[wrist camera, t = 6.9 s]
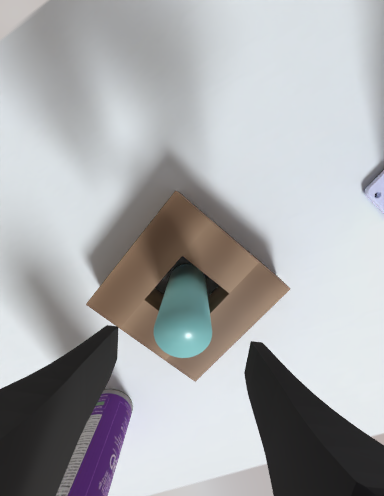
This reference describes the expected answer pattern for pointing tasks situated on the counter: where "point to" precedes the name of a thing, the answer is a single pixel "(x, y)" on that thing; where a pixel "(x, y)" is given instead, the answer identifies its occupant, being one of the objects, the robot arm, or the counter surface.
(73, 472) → the container
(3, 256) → the counter surface
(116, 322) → the socket block
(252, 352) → the robot arm
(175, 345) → the peg
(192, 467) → the counter surface
